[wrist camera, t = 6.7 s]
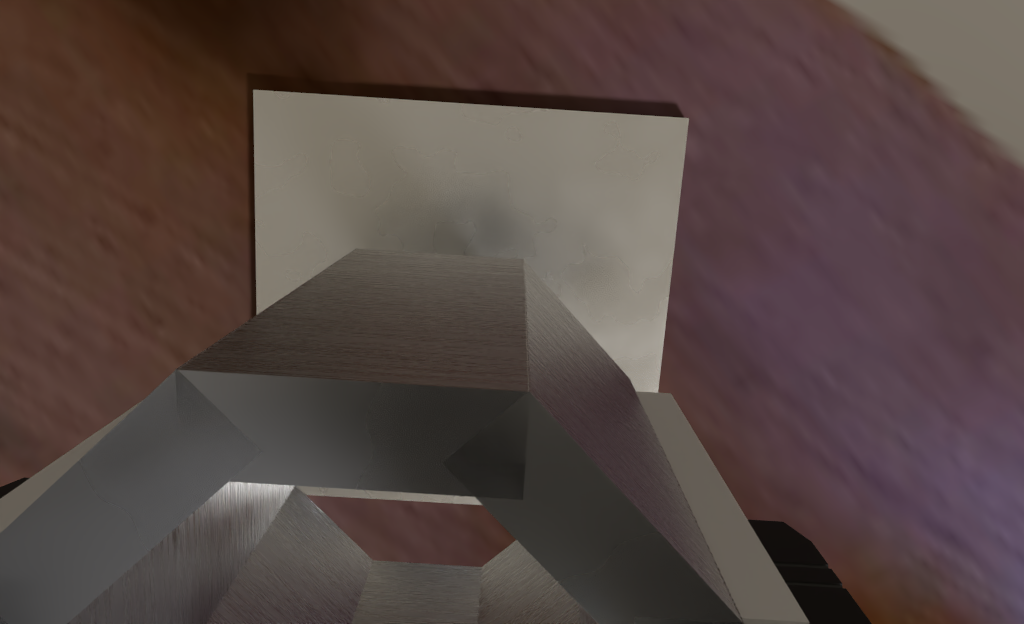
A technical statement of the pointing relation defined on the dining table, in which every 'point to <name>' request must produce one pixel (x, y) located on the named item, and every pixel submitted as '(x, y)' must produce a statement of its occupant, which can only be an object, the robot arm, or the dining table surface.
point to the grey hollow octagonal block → (374, 469)
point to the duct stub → (477, 205)
